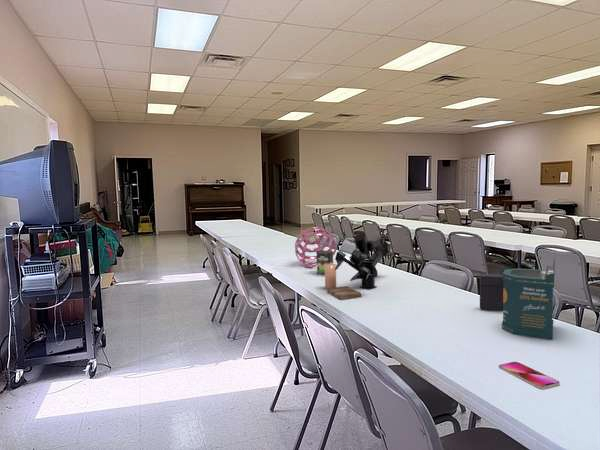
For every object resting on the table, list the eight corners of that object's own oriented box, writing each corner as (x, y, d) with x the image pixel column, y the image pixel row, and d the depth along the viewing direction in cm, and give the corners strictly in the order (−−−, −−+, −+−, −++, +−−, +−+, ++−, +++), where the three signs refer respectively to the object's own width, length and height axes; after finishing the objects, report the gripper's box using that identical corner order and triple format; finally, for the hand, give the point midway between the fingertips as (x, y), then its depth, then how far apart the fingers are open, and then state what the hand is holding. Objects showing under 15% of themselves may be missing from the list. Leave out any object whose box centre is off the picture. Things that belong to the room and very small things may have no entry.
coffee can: (330, 276, 247) (330, 253, 245) (314, 275, 250) (313, 252, 249) (335, 273, 256) (335, 250, 255) (320, 272, 260) (319, 250, 258)
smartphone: (516, 361, 125) (561, 382, 111) (516, 364, 125) (561, 385, 111) (496, 365, 123) (541, 387, 108) (496, 368, 123) (540, 391, 108)
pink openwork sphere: (336, 241, 257) (327, 214, 277) (293, 253, 258) (287, 225, 279) (343, 270, 275) (335, 243, 296) (303, 281, 276) (297, 253, 297)
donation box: (552, 340, 141) (554, 259, 138) (500, 332, 149) (501, 256, 147) (553, 325, 154) (555, 251, 152) (505, 319, 163) (506, 249, 160)
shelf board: (327, 292, 212) (327, 288, 212) (346, 289, 216) (346, 286, 215) (340, 300, 197) (340, 296, 197) (361, 297, 201) (361, 293, 201)
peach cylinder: (331, 286, 223) (330, 263, 221) (338, 288, 218) (338, 264, 217) (322, 289, 219) (322, 264, 218) (330, 291, 214) (329, 266, 213)
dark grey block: (507, 309, 175) (508, 274, 173) (509, 312, 171) (509, 277, 169) (479, 307, 179) (479, 273, 177) (480, 310, 175) (480, 275, 173)
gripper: (348, 236, 207) (330, 254, 198) (379, 256, 200) (362, 276, 191) (344, 250, 215) (326, 268, 206) (374, 270, 208) (357, 289, 199)
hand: (342, 275), depth 200 cm, fingers open, 9 cm apart
